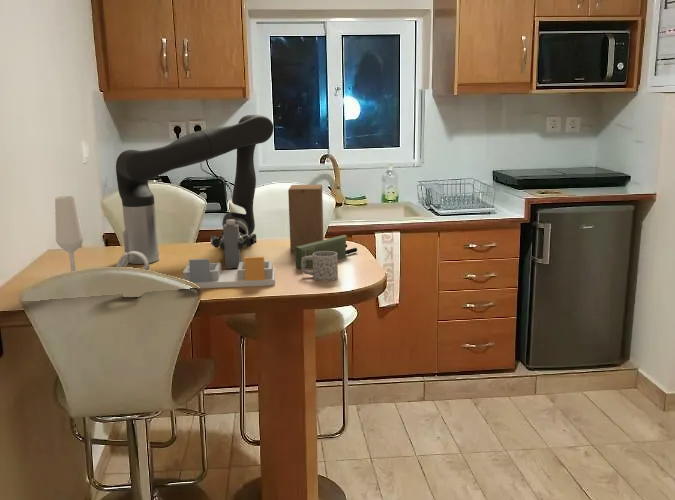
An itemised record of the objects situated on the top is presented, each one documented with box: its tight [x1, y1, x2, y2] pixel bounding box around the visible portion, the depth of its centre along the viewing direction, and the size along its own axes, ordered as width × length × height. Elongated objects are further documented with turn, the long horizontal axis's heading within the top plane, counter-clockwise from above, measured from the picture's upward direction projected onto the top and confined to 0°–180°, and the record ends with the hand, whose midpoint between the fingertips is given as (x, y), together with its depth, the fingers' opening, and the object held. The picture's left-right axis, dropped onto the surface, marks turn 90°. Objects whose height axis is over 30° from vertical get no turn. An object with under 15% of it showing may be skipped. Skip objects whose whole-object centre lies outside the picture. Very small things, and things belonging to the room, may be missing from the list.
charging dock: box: [182, 256, 276, 289], centre depth 179 cm, size 24×12×8 cm, turn 95°
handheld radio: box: [294, 234, 358, 270], centre depth 200 cm, size 7×3×25 cm
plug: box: [222, 219, 241, 269], centre depth 192 cm, size 4×4×14 cm
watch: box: [115, 251, 150, 271], centre depth 169 cm, size 6×8×11 cm
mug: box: [301, 251, 339, 282], centre depth 181 cm, size 10×7×7 cm, turn 77°
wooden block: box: [287, 183, 325, 253], centre depth 214 cm, size 10×10×20 cm
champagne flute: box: [54, 195, 85, 273], centre depth 174 cm, size 7×7×24 cm
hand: (231, 246), depth 190 cm, fingers closed on plug, 4 cm apart
